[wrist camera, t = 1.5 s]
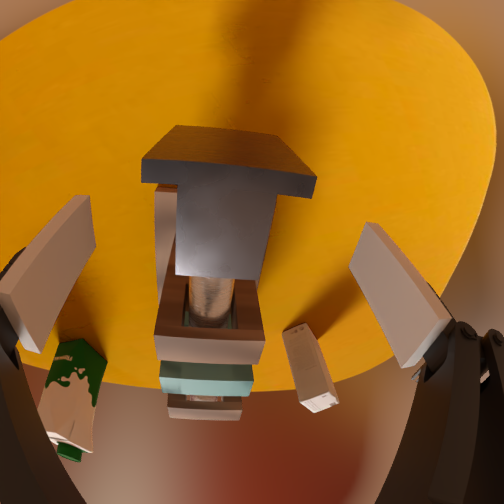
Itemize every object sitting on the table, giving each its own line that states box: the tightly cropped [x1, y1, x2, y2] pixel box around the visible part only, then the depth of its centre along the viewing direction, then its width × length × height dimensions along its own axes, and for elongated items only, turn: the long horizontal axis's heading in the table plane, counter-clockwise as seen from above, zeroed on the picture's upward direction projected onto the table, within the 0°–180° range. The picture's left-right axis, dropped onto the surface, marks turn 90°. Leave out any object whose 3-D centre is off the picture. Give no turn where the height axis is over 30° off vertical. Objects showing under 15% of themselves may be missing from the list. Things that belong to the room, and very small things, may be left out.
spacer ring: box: [159, 311, 254, 396], centre depth 26 cm, size 3×8×8 cm, turn 81°
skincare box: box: [282, 323, 339, 413], centre depth 37 cm, size 6×4×12 cm
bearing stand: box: [154, 187, 276, 420], centre depth 28 cm, size 24×12×15 cm, turn 171°
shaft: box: [141, 125, 317, 402], centre depth 22 cm, size 30×7×9 cm, turn 171°
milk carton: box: [37, 339, 108, 462], centre depth 32 cm, size 9×9×20 cm
